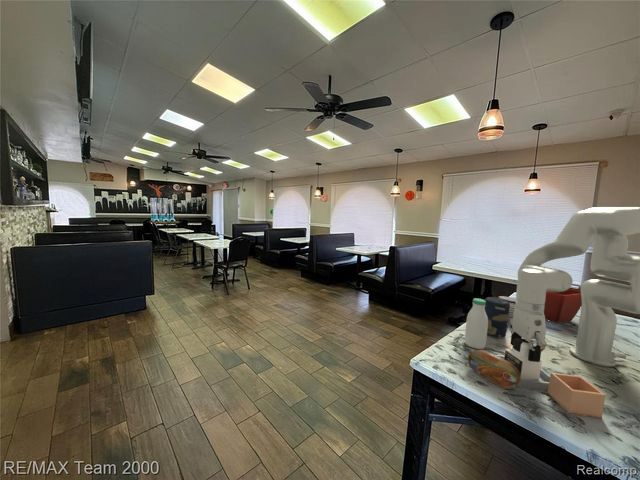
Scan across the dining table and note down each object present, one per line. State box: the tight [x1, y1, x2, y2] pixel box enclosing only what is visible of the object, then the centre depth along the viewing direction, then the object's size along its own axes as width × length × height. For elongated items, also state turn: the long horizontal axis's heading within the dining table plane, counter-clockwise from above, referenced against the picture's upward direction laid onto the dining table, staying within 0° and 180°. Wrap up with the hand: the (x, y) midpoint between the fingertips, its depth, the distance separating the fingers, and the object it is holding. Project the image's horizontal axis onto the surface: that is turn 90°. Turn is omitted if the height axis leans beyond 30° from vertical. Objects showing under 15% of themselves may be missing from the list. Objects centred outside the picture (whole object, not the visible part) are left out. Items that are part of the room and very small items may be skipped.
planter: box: [547, 372, 606, 419], centre depth 72 cm, size 8×8×7 cm
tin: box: [467, 349, 521, 390], centre depth 83 cm, size 15×3×8 cm, turn 32°
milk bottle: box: [464, 297, 488, 350], centre depth 104 cm, size 8×8×20 cm
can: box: [498, 295, 516, 324], centre depth 132 cm, size 11×11×12 cm
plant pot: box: [543, 288, 582, 324], centre depth 136 cm, size 19×19×17 cm
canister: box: [484, 296, 510, 339], centre depth 114 cm, size 10×10×18 cm
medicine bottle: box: [504, 338, 543, 380], centre depth 85 cm, size 7×7×12 cm
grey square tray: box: [494, 354, 550, 392], centre depth 86 cm, size 14×14×2 cm
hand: (524, 352), depth 85 cm, fingers open, 9 cm apart
